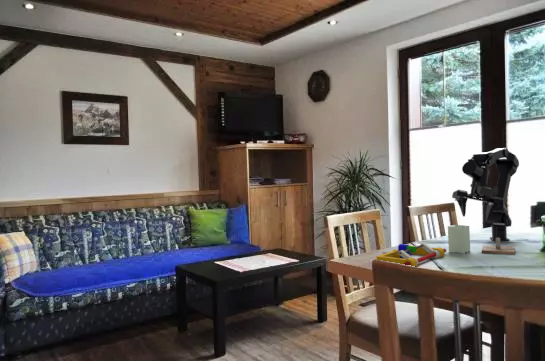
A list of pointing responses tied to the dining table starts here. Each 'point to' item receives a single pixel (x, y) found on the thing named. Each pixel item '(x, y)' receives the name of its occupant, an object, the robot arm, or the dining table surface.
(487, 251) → the peg stand
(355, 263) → the dining table surface
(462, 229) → the sleeve
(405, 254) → the mechanical clamp
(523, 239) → the dining table surface
